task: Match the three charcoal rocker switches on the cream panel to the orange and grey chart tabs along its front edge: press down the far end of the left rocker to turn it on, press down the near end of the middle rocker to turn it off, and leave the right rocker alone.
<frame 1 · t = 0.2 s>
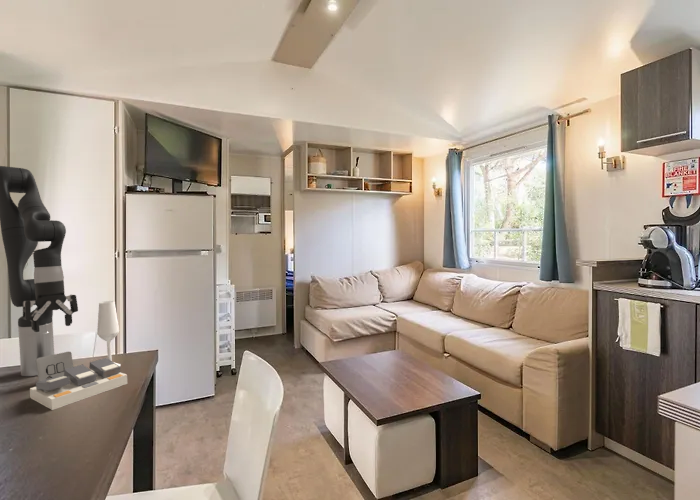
hand: (52, 328, 120), 17 cm above the table, tool pointing down, fingers open, 8 cm apart
rocker middle: (80, 374, 112), point 5 cm above the table, hinge at 10.0°
champagne flute: (110, 367, 132), on the table
rocker 1: (52, 382, 106), point 5 cm above the table, hinge at -10.0°
rocker 2: (104, 367, 118), point 5 cm above the table, hinge at 10.0°
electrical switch: (54, 382, 120), on the table
switch panel: (81, 390, 112), on the table
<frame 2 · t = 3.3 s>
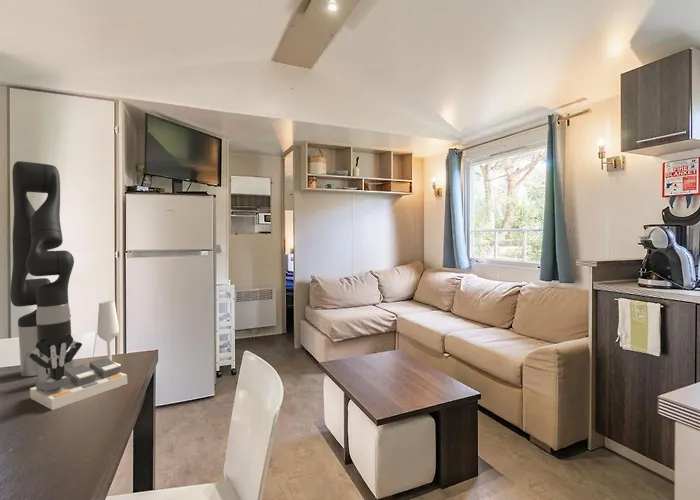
hand: (57, 379, 104), 7 cm above the table, tool pointing down, fingers closed
rocker 1: (52, 382, 106), point 5 cm above the table, hinge at -9.9°, touching gripper
everything else where it was.
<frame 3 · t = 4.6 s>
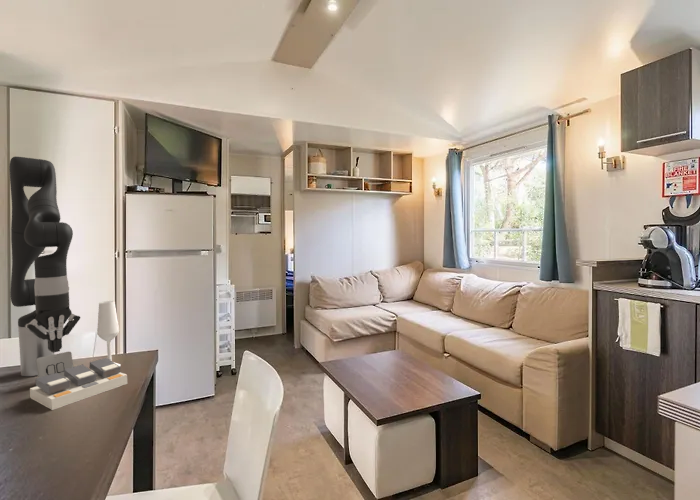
hand: (55, 351, 104), 15 cm above the table, tool pointing down, fingers closed
rocker 1: (52, 382, 106), point 5 cm above the table, hinge at 4.3°
everything else where it was.
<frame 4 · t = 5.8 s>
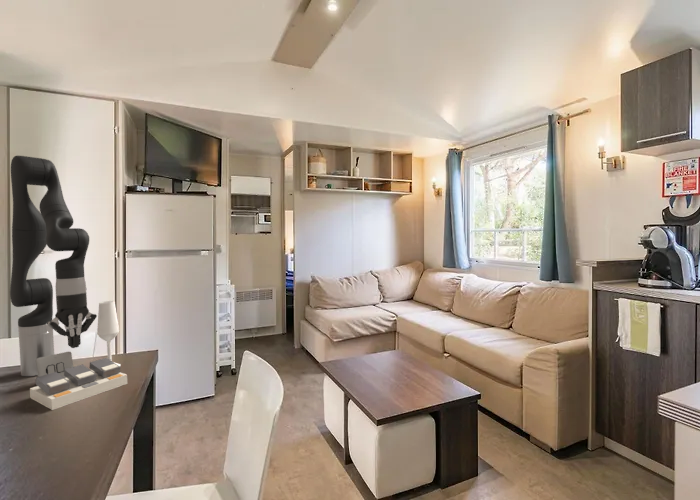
hand: (74, 347, 113), 13 cm above the table, tool pointing down, fingers closed
rocker 1: (52, 382, 106), point 5 cm above the table, hinge at 9.1°
everything else where it was.
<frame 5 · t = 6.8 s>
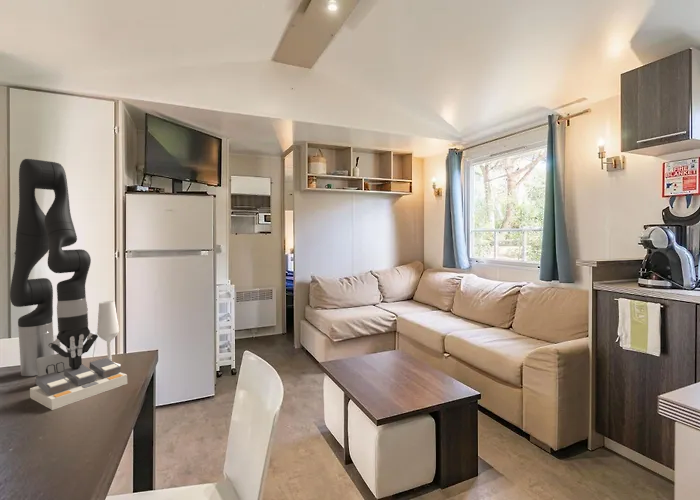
hand: (75, 368, 113), 7 cm above the table, tool pointing down, fingers closed
rocker middle: (80, 374, 112), point 5 cm above the table, hinge at 10.0°, touching gripper
rocker 1: (52, 382, 106), point 5 cm above the table, hinge at 10.1°
everything else where it was.
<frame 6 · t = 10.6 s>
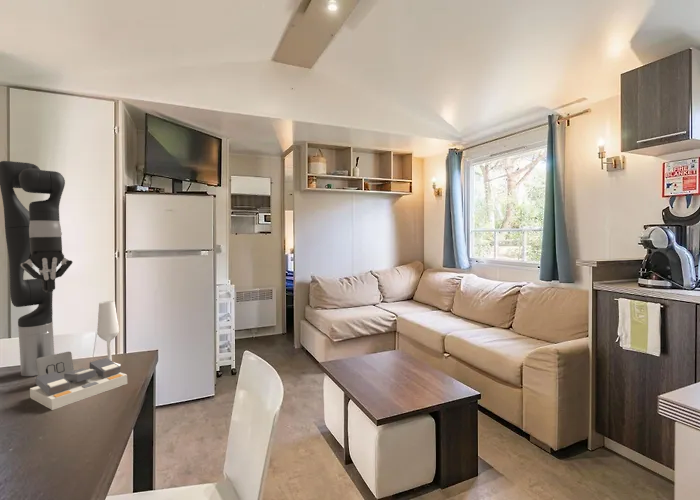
hand: (48, 291, 112), 31 cm above the table, tool pointing down, fingers closed
rocker middle: (80, 374, 112), point 5 cm above the table, hinge at -7.2°
rocker 1: (52, 382, 106), point 5 cm above the table, hinge at 10.4°
everything else where it was.
at the end: rocker 1 at +10° (first picture: -10°); rocker middle at -7° (first picture: +10°); rocker 2 at +10° (first picture: +10°) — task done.
